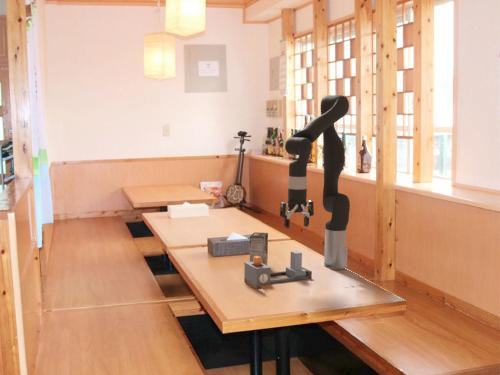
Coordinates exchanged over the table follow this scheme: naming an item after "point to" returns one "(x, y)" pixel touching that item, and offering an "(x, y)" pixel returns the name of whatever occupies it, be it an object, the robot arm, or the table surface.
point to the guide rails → (286, 278)
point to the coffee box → (259, 246)
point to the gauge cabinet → (257, 273)
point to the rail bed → (308, 273)
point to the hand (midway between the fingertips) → (296, 227)
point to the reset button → (257, 260)
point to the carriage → (295, 265)
